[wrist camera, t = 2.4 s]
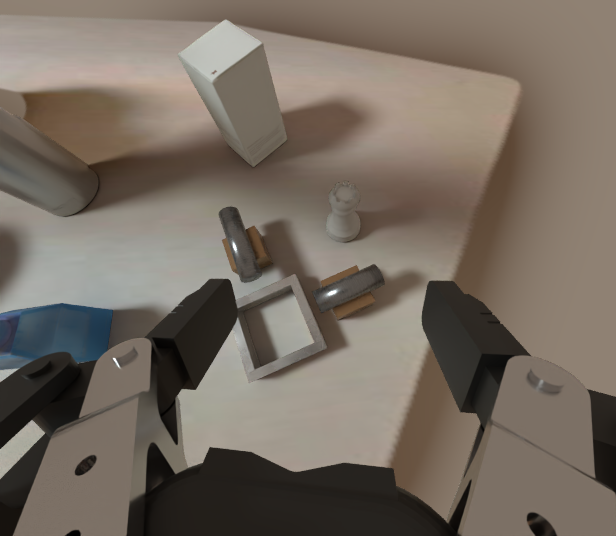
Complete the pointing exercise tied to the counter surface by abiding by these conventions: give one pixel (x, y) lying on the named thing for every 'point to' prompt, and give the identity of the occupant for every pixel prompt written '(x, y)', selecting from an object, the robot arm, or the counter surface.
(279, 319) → the counter surface
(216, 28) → the supplement box
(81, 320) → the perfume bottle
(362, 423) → the counter surface
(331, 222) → the rook chess piece
